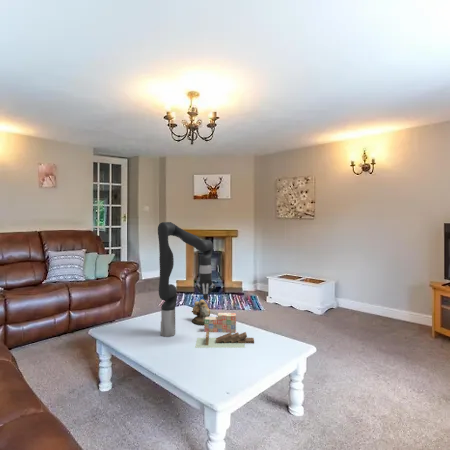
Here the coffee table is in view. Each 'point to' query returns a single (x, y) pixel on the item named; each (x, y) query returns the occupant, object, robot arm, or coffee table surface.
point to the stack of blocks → (221, 323)
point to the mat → (217, 344)
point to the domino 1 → (207, 337)
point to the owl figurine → (200, 312)
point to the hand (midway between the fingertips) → (205, 299)
